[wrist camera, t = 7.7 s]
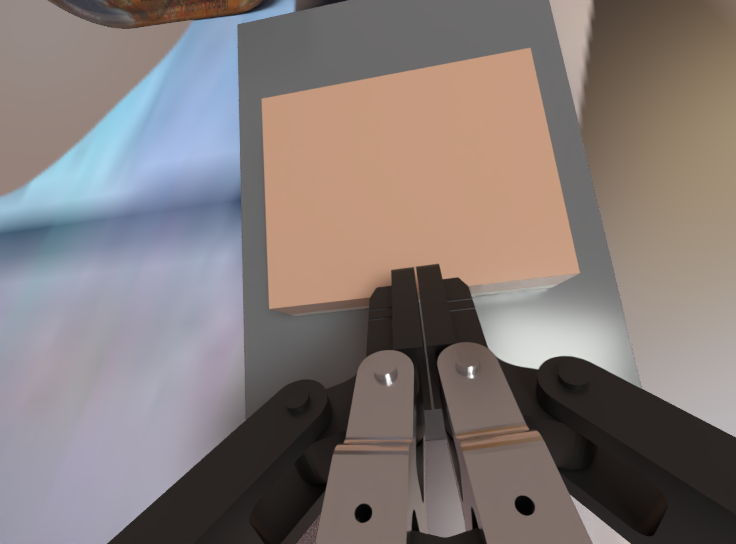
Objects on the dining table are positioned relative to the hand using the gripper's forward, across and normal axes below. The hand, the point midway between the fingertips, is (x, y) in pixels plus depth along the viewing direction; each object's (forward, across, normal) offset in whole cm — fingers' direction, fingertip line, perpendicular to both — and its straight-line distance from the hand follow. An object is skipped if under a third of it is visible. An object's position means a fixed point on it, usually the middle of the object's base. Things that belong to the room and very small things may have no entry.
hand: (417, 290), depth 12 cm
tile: (+2, 0, +2) cm, 3 cm away
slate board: (+8, 0, 0) cm, 8 cm away
